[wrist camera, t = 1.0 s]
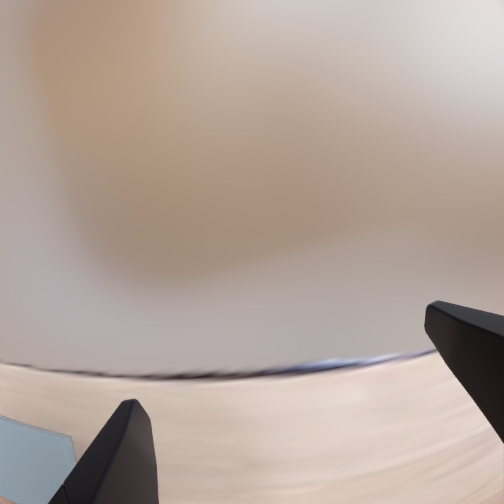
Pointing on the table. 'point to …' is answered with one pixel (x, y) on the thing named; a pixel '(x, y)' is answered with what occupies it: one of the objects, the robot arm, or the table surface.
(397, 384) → the table surface
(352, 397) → the table surface
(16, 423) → the board
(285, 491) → the table surface
